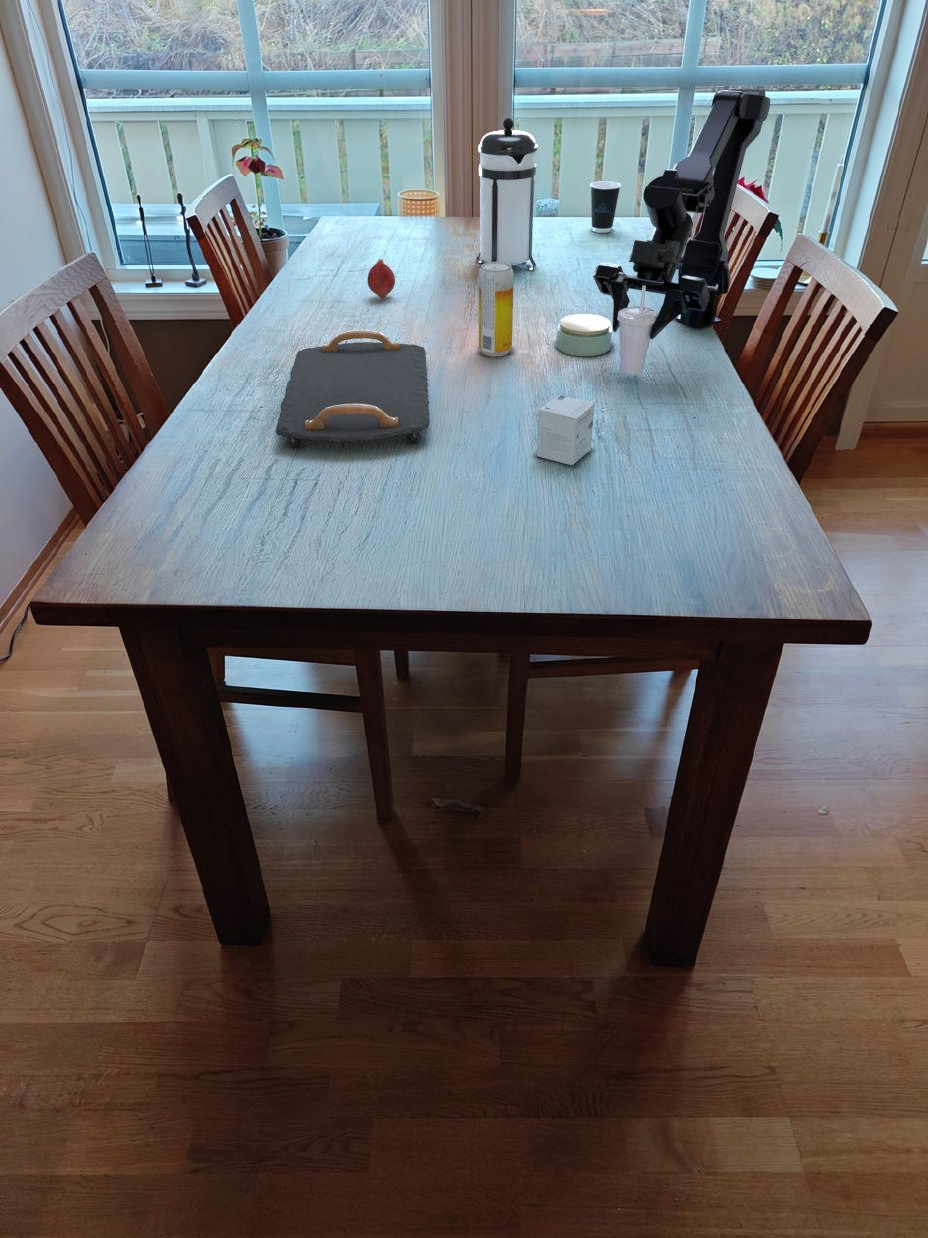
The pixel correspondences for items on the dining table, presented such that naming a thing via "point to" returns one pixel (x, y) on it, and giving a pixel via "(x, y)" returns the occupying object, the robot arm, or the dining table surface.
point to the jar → (584, 335)
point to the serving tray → (356, 391)
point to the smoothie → (635, 336)
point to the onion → (381, 279)
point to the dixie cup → (603, 204)
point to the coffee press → (507, 196)
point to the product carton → (565, 429)
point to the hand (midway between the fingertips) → (632, 334)
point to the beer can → (495, 308)
